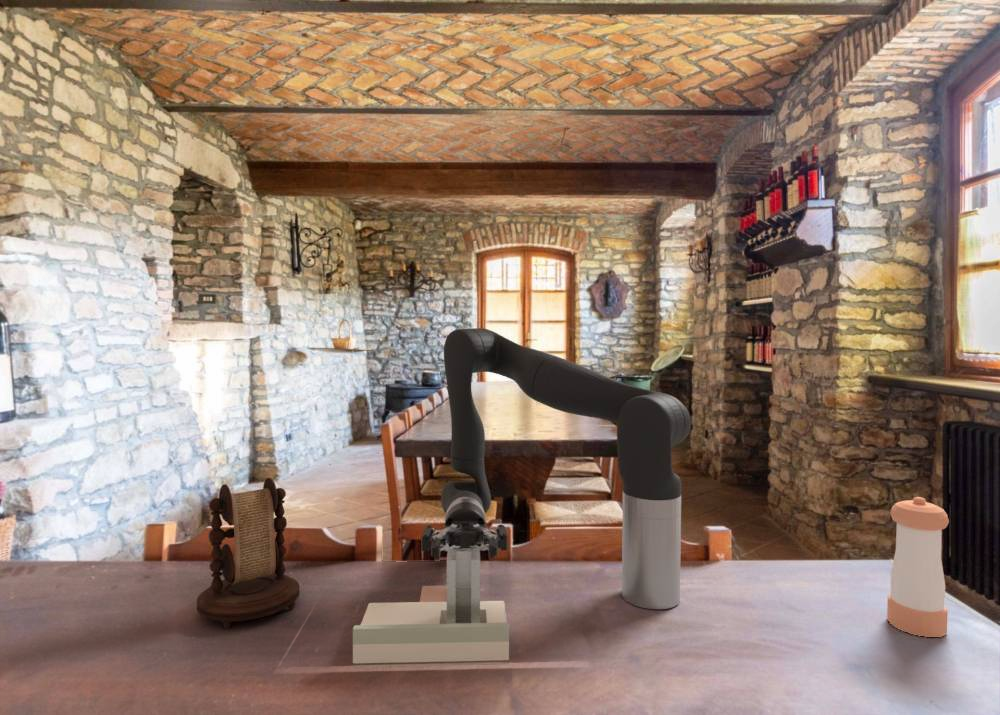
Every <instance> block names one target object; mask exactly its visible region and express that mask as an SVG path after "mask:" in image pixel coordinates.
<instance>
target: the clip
mask: <svg viewBox="0 0 1000 715" xmlns="http://www.w3.org/2000/svg"><path fill="white" fill-rule="evenodd" d="M446 586H447V624H458V623H480V601H481V550H480V548H453V549H448V551H447V554H446Z"/></svg>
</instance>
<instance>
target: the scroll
mask: <svg viewBox="0 0 1000 715" xmlns="http://www.w3.org/2000/svg"><path fill="white" fill-rule="evenodd" d="M286 496H287V493H286V490H285V489H284V488H283V487H278V488H277V485H276V484H275V481H274V479H272V477H266V479H265V480H264V482H263V486H262V488H260V489H253V490H249V491H247V490H246V491H243V492H241V491H240V492H236V493H231V490H230V487H229V485H227V484H226V483H224V484H222V485H221V486H220V489H219V494H218V497H214V498H212V499H211V500H210V502H209V504H208V507H209V510H211V512H210V515H211V516H212V519H211V522H210V527H211V530H210V531H209V532H208V540H209V543H210V545H211V546H212V549H211V554H210V556H211V558H212V560H211V561H210V563H209V569H210V571H211V572H212V573H211V574H210V575H211V577H212V578H213V579H212V582H211V584H210V586H208V587H207V588H206V589H205V590H203V591H202V592H201V593H200V594H199V595H198V597H197V599H196V612H197V613H198V615H200V616H201V617H202V618H204V619H207V620H212V621H217V622H222V623H223V624H222V625H223V627H224V629H225V630H229V629H230V627H231V625H232V622H240V621H241V622H242V621H250V620H255V619H258V618H263V617H267V616H271V615H273V614H275V613H278V612H281V611H282V610H284V609H285V610H286V608H288V609H289V610H290V611H292V610H294V608H295V605H296V601H297V600H298V598H299V596H300V588H301V587H300V583H299V582H298V580H296V579H295V578H294V577H291V576H289V575H287V574H285V572H286V567H285V564H284V561H285V559H286V558H285V557H284V556H285V555H286V554H287V548H286V546H285V545H284V544H285V542H286V540H285V536H284V533H283V532H285V529H286V527H287V526H288V524H287V523H288V520H287V518H286V517H285V516H284V515H285V513H286V512H285V508H284V504H285V500H284V499H285V497H286ZM220 515H221V516H220ZM222 520H223V521H224V522H226V523H227V524H228V526H229V527H230V528H228V529H226V531H225V530H224V529H223V528H221V527H222V526H223V522H222ZM231 526H233V527H232V528H231ZM275 533H276V534H275ZM226 538H227V539H233V538H234V555H233V552H232V549H231V547H230V545H229V544H227V543H224V545H223V541H224V540H225V539H226ZM221 545H223V546H222V547H221ZM221 576H223V578H224V579H222V578H221Z"/></svg>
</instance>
